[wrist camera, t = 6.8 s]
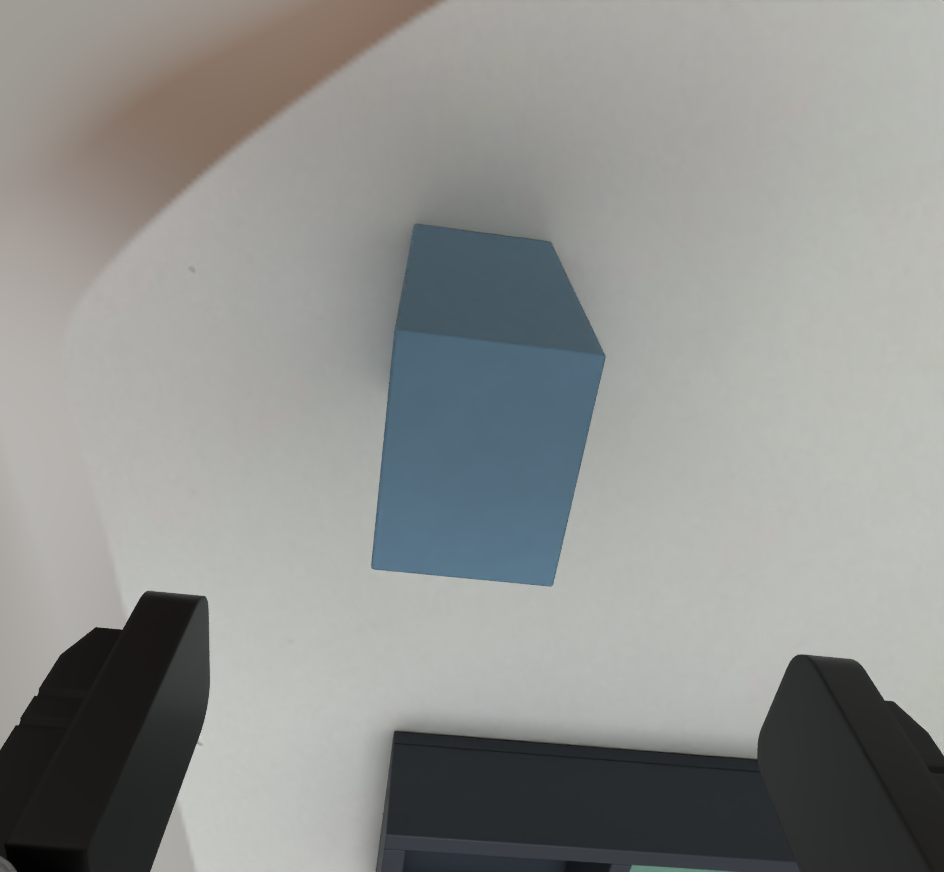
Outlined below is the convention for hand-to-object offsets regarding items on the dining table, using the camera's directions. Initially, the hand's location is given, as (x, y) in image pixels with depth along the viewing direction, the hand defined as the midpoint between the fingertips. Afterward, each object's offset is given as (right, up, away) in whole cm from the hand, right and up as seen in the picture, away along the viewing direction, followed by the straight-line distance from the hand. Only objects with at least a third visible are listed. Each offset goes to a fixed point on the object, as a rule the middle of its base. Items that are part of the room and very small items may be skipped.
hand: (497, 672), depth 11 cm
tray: (+5, -14, +24) cm, 28 cm away
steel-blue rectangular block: (0, +7, +13) cm, 15 cm away
